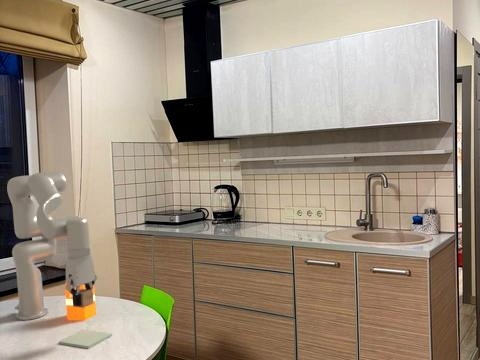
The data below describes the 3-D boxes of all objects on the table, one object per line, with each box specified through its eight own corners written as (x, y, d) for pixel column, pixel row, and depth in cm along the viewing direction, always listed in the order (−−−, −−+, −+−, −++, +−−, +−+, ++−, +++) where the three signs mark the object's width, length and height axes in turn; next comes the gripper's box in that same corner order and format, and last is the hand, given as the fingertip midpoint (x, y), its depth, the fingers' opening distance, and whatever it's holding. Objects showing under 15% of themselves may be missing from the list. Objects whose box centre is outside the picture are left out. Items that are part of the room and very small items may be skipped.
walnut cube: (73, 306, 174) (72, 292, 173) (83, 302, 178) (82, 288, 178) (83, 307, 171) (82, 293, 171) (93, 303, 176) (92, 289, 176)
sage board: (58, 343, 173) (58, 341, 173) (83, 331, 184) (82, 329, 184) (88, 348, 167) (88, 346, 167) (112, 335, 178) (112, 333, 178)
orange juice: (85, 320, 196) (81, 271, 195) (66, 319, 199) (63, 271, 198) (96, 314, 204) (93, 267, 203) (79, 313, 207) (75, 266, 205)
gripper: (88, 247, 183) (92, 295, 184) (53, 257, 168) (57, 309, 169) (103, 248, 180) (107, 296, 181) (69, 258, 164) (73, 311, 165)
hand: (83, 302), depth 175 cm, fingers closed on walnut cube, 5 cm apart
